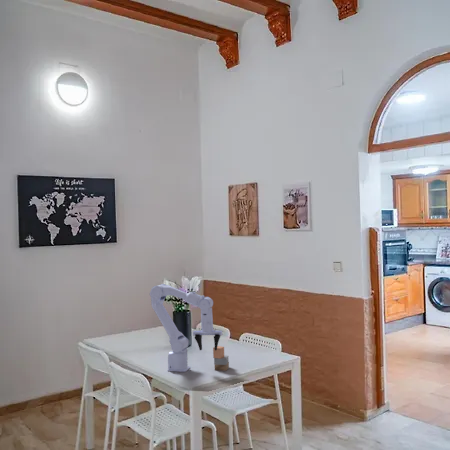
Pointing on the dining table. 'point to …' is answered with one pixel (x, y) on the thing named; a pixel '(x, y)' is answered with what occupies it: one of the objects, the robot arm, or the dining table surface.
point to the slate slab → (221, 361)
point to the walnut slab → (222, 367)
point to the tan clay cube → (218, 352)
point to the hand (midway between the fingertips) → (208, 349)
